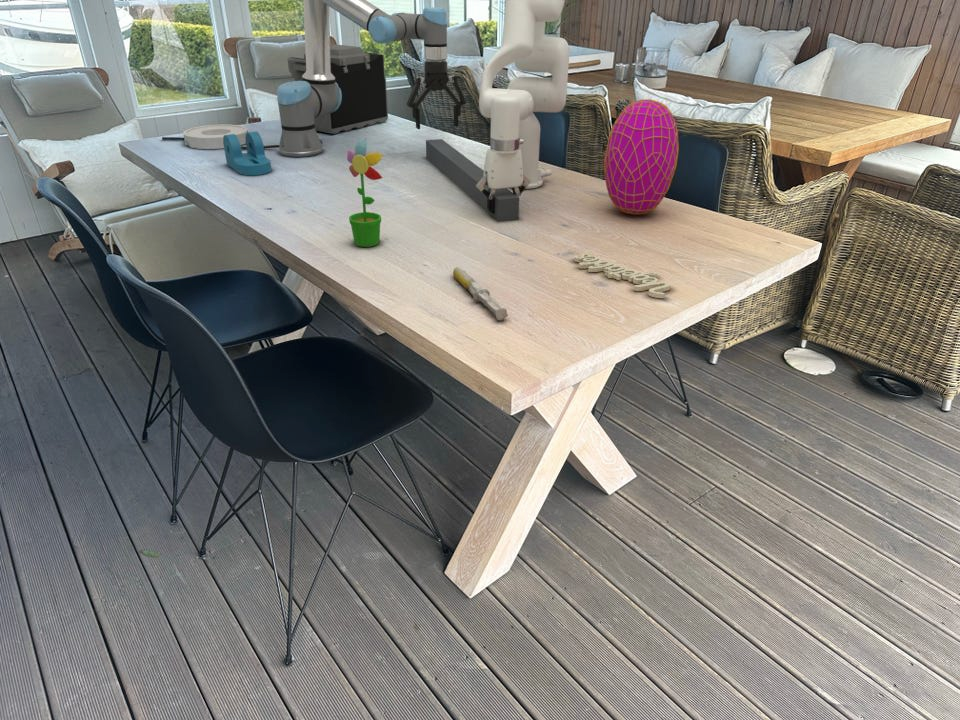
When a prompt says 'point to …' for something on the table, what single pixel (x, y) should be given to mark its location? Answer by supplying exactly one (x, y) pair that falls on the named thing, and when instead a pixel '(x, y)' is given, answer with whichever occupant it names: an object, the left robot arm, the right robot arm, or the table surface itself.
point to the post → (471, 179)
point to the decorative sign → (625, 274)
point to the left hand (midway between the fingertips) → (437, 127)
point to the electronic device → (351, 88)
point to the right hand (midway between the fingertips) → (502, 210)
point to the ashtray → (213, 135)
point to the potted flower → (364, 222)
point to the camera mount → (246, 154)
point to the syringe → (479, 293)
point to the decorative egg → (641, 156)
